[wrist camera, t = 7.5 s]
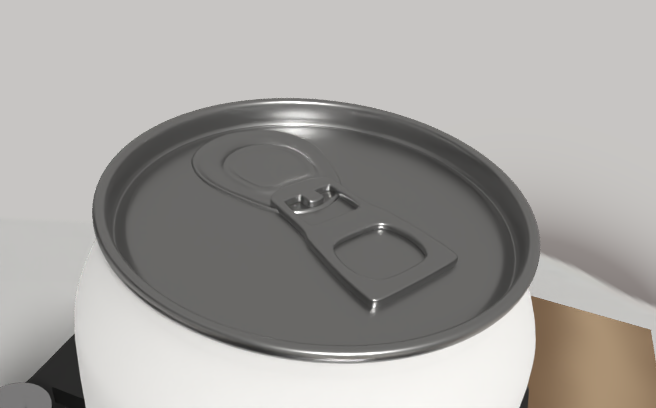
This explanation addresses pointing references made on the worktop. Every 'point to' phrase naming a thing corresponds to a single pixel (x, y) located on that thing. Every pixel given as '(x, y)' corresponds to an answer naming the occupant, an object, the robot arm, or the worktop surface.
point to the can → (305, 266)
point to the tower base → (589, 361)
